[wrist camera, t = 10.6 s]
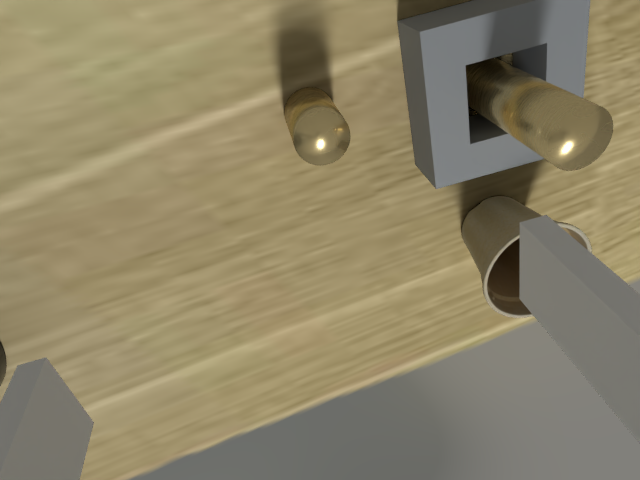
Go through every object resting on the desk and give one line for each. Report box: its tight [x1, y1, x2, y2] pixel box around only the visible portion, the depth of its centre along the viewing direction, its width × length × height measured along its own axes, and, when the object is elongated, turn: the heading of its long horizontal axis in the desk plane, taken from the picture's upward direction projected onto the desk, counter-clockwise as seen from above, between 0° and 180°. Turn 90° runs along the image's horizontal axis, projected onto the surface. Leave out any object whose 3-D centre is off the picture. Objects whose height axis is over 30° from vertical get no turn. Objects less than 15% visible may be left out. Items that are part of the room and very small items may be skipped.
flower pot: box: [462, 196, 592, 318], centre depth 45 cm, size 9×9×9 cm
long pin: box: [466, 58, 613, 171], centre depth 35 cm, size 4×4×14 cm
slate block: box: [397, 0, 590, 189], centre depth 39 cm, size 12×12×5 cm
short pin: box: [284, 87, 350, 165], centre depth 38 cm, size 4×4×6 cm
